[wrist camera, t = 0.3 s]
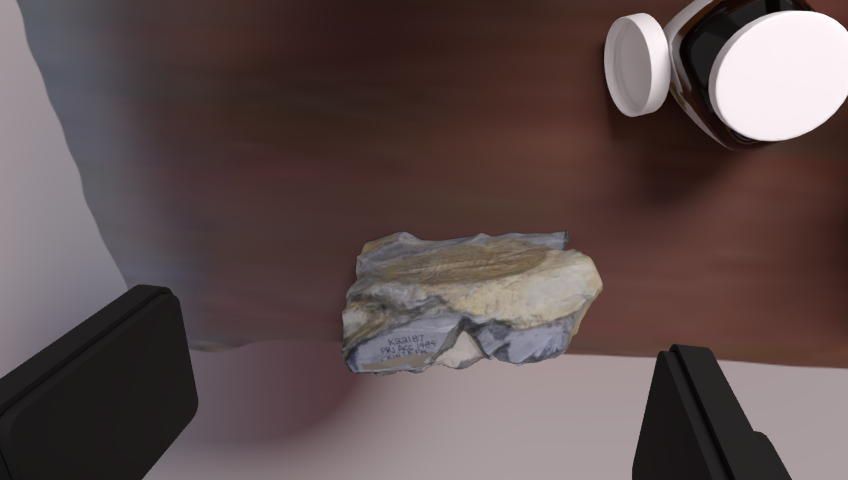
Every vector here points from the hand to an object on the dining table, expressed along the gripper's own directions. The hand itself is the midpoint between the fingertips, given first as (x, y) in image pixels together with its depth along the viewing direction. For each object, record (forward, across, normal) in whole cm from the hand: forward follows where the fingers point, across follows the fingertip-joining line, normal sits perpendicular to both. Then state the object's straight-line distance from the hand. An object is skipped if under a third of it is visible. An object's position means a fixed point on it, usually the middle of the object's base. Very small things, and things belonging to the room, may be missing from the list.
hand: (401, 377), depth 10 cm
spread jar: (+37, -14, -3) cm, 39 cm away
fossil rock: (+37, +1, +16) cm, 40 cm away
